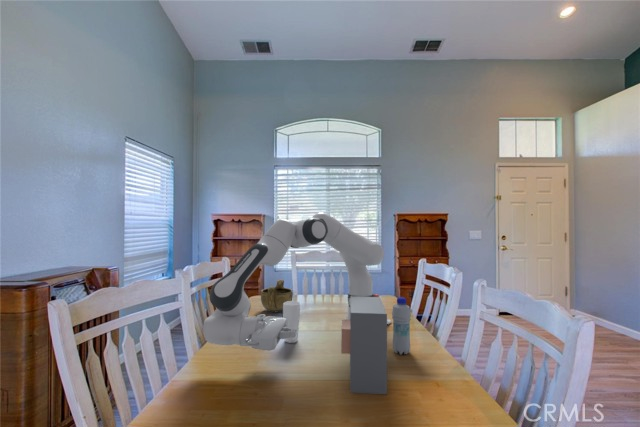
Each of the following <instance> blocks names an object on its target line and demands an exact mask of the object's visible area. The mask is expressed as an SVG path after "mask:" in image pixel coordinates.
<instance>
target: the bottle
mask: <svg viewBox="0 0 640 427" xmlns="http://www.w3.org/2000/svg"><path fill="white" fill-rule="evenodd" d="M410 307H411V306H409V305H408V304H407V299H406V298H405V297H403V296H400V297H397V298H396V304H394V305H393V306H392V312H391V316H392V320H393V321H392V334H393V335H392V350H393V351H394V353H395V354H398V353H399V355H400V356H401V355H403V354H404V355H405V354H406V355H408V354H409V353H410V351H411V338H410V337H411V336H410V335H411V334H410V333H411V330H410V329H411V328H410V327H411V325H410V324H411V317H412V316H411V314H412V313H411V308H410Z"/></svg>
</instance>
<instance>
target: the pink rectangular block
mask: <svg viewBox="0 0 640 427" xmlns="http://www.w3.org/2000/svg"><path fill="white" fill-rule="evenodd" d="M350 339H351V326H350V320H346V319H342V320H341V346H340V347H341V350H340V351H341V353H340V354H345V355H350Z"/></svg>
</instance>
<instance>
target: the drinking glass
mask: <svg viewBox="0 0 640 427" xmlns="http://www.w3.org/2000/svg"><path fill="white" fill-rule="evenodd" d="M300 316H301V304H300V301H299V302H298V301H297V300H296V301H295V300H292V301H288V302H284V303H283V311H282V317H284V318H286V319H287V327H288V328H291V329H297V334H296V336H295V338H286V339H284V342H286V343H288V344H294V343H297V342H298V340H299V329H300V328H299V326H300Z"/></svg>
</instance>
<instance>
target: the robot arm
mask: <svg viewBox="0 0 640 427" xmlns="http://www.w3.org/2000/svg"><path fill="white" fill-rule="evenodd" d="M321 242H324V243H326V244H327V245H328V246H330V247H331V248H333V249H334V250H336V251H338V252H339V256H340V258H341V259H342V261H343V262H344V265H345V268H346V271H347V278H348V293H347V303H348V304H347V305H348V306H347V312H346V314H347V315H346V319H345V320H350V296H358V297H380V294H377V293H373V287H374V286H373V280H374V279H373V276H372V274H371V273H370V272H369V271H368V268H367V267H369V266H378V265H380V264H382V262H383V260H384V257H385V251H384V248H383V246H382V245H381V244H379V243H377V242H374V241H372V240H370V239H368V238H366V236H363V235H361V234H359V233H357V232H354V231H353V230H351V229H350V228H348V227H347V226H346V225H344V224H343V223H341V222H340V221H339V220H338V219H336V218H334V217H333V216H331V215H330V214H327V213H325V212H322V211H321V212H319V211H318V212H317V213H314V214H313V216H312V217H310V218H306V219H302V220H298V221H297V222H293V223H292V222H291V220H288V219H286V218H281V219H277V220H276V221H274V223H273V224H271V226H270V227H269V228H267V230H266V232H264V234H263V235H262V236H261V238H260V240H258V242H257V243H255V244H254V245H252V246H250V247H249V249H247V251H246V252H245V253H244V254H243V255H242V257H241V258H240V259H239V260H238V261H237V262H236V263H235V264H234V265H233V266H232V268H231V269H230V270H229V271H228V272H227V273H226V274H224V275H223V276H221V277H220V279H218V280H217V281H216V282H215V283H214V284H213V285H212V287H211V288H210V289H209V293H208V294H209V301H210V303H211V305H212V306H213V307H215V308H216V309H215V310H214V311H213V312H212V313H211V314H210V315H209V316H207V317H206V318H205V319H204V320H203V324H202V334H203V338H204V340H205V341H206V342H208V343H209V344H212V345H218V346H232V345H238V346H241V347H251V348H252V349H254V350H261V351H273V350H275V349H276V348H277V346H278V344H279V342H280V340H285V339H286V338H295V336H296V334H297V329H291V328H288V327H287V319H286V318H284V317H283V316H274V315H273V316H272V315H269V316H266V314H265V313H264V314H262V313H261V314H258V315H254V316H249V314H250V310H251V307H252V306H251V305H252V304H251V301H250V298H249V297H248V295H247V293H246V292H245V289H244V288H245V287H244V286H245V283H246V282H247V281H248V279H249V278H250V277H251V276H252V274H253V273H254V272H255V271H256V269H257V268H259V266H262V265H263V266H266V267H272V266H276V265H278V264H279V263H280V262H281V261H282V260H283V259H284V257H285V256H286V254H287V253H288V251H289V249H290V248H294V249H298V248H307V247H310V246H313V245H318V244H320V243H321ZM387 324H388V325H390V324H392V320H391V319H390V318H388V317H387Z"/></svg>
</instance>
